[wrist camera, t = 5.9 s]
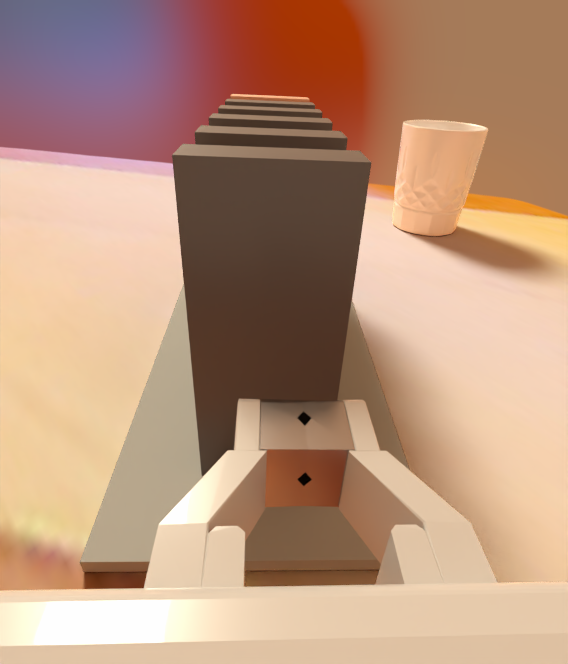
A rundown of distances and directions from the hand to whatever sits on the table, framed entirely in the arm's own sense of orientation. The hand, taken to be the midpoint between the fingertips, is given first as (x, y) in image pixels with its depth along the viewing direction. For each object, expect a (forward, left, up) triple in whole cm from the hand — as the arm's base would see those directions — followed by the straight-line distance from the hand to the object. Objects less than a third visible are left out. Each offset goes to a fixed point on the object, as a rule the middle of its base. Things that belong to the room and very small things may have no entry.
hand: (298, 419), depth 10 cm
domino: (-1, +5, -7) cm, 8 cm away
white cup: (+16, +38, -8) cm, 42 cm away
